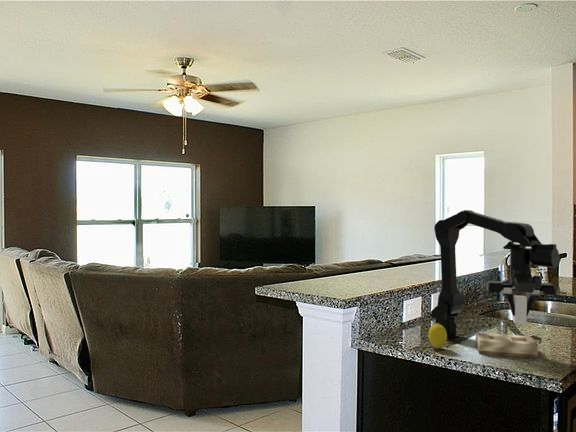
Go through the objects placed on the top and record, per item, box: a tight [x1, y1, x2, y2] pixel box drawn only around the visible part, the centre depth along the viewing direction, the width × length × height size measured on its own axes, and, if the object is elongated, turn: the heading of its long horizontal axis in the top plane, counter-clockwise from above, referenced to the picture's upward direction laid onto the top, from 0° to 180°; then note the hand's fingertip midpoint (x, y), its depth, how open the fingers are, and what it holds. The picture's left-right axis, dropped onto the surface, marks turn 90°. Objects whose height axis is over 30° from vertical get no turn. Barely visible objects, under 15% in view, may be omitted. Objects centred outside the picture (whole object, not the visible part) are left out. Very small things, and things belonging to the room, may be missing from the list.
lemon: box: [427, 323, 448, 350], centre depth 155 cm, size 6×6×8 cm
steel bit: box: [512, 294, 528, 325], centre depth 152 cm, size 3×3×8 cm
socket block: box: [475, 332, 539, 359], centre depth 153 cm, size 16×10×4 cm, turn 76°
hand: (519, 316), depth 152 cm, fingers closed on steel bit, 3 cm apart
